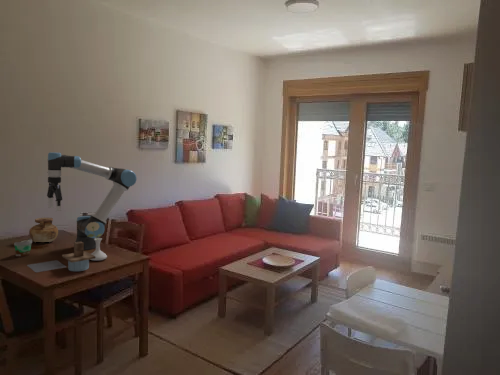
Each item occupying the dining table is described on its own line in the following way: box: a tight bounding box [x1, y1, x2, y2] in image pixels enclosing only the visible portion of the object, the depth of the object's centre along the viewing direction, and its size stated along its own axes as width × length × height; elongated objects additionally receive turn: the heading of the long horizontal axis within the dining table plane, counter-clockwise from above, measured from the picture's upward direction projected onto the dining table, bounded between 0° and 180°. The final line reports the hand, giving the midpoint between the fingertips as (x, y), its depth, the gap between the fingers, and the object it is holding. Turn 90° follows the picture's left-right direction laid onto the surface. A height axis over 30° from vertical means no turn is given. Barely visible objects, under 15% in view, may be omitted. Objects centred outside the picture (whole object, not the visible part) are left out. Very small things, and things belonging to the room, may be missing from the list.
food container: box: [13, 237, 33, 258], centre depth 245 cm, size 12×6×10 cm, turn 168°
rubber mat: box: [26, 259, 67, 273], centre depth 226 cm, size 17×17×1 cm
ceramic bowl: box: [67, 259, 90, 272], centre depth 225 cm, size 11×11×7 cm
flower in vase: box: [86, 222, 108, 262], centre depth 244 cm, size 13×11×25 cm
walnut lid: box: [61, 241, 95, 263], centre depth 224 cm, size 14×14×9 cm
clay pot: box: [28, 217, 59, 243], centre depth 279 cm, size 19×19×20 cm
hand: (54, 209), depth 242 cm, fingers open, 13 cm apart
